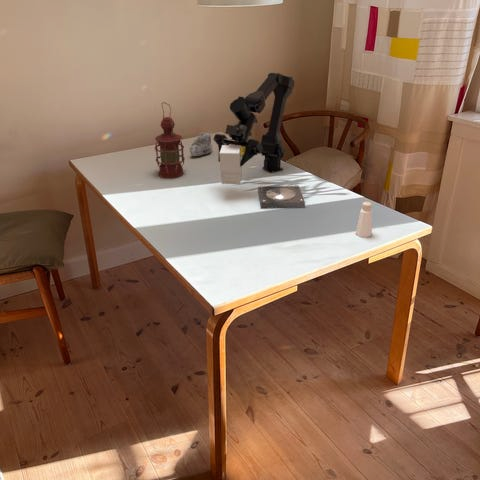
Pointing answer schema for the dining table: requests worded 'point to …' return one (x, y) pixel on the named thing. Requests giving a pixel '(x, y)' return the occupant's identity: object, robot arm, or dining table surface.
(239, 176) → the supplement box
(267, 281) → the dining table surface
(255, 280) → the dining table surface
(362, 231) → the pepper shaker
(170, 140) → the lantern
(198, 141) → the mineral rock
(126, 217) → the dining table surface
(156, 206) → the dining table surface
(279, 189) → the motor mount
